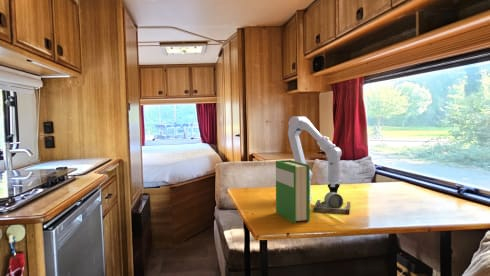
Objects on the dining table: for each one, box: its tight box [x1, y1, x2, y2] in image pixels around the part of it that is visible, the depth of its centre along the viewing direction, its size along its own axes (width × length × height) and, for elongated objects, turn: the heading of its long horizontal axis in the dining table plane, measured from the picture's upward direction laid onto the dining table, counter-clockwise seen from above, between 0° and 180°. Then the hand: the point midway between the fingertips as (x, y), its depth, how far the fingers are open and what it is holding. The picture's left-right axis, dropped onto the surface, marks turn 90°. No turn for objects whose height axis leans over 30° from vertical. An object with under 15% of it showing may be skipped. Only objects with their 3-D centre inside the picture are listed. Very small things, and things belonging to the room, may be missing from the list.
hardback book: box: [275, 159, 311, 224], centre depth 159 cm, size 18×7×24 cm, turn 20°
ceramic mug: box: [319, 191, 344, 209], centre depth 175 cm, size 11×8×8 cm
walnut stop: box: [313, 199, 351, 215], centre depth 173 cm, size 16×15×2 cm
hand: (333, 198), depth 181 cm, fingers closed
